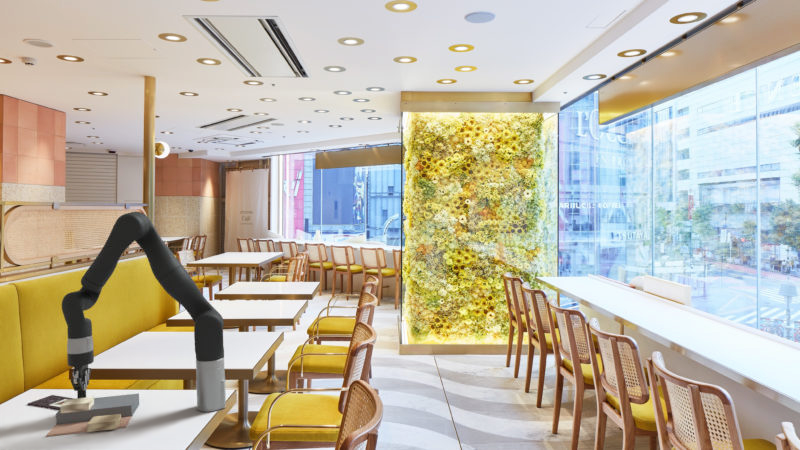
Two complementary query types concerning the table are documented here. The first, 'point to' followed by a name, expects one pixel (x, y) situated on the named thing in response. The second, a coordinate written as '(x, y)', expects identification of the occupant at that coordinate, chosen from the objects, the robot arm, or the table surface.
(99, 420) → the oak tile
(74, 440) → the table surface
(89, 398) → the birch tile
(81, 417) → the slate board
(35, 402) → the chocolate bar
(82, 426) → the rubber mat
